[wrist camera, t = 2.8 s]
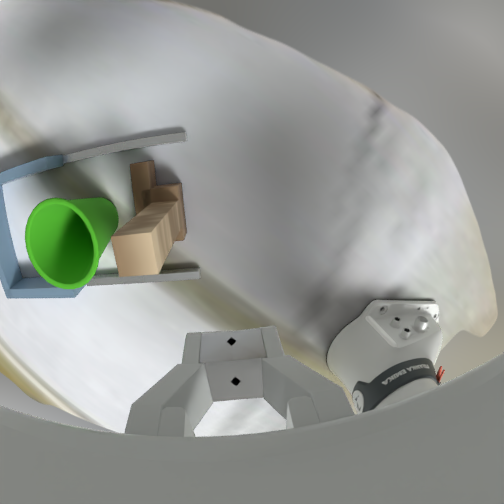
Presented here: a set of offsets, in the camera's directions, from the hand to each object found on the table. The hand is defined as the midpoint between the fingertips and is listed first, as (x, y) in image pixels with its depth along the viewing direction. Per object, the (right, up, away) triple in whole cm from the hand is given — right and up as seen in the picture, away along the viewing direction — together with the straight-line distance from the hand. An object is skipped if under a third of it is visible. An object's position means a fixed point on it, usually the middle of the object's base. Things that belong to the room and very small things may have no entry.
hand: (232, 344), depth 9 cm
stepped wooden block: (-10, +8, +23) cm, 26 cm away
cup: (-18, +8, +23) cm, 30 cm away
